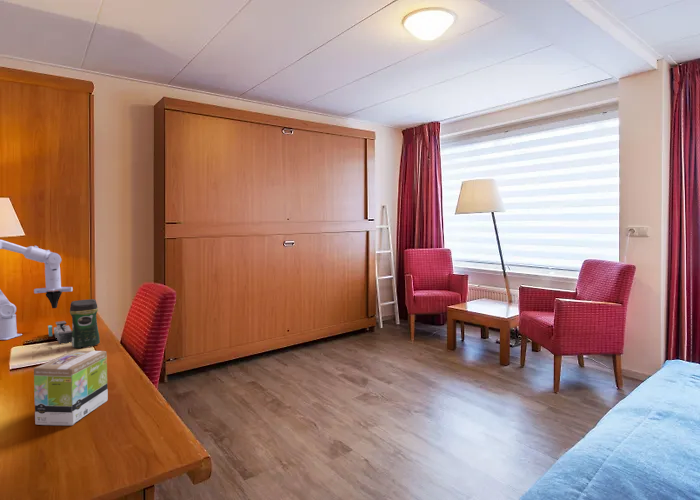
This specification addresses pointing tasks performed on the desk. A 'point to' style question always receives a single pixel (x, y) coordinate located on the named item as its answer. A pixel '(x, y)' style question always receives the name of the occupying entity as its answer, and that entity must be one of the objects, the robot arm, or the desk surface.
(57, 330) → the tong arm
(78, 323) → the coffee jar
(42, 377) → the tea box
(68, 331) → the tongs base
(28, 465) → the desk surface
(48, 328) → the lock tab
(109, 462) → the desk surface
